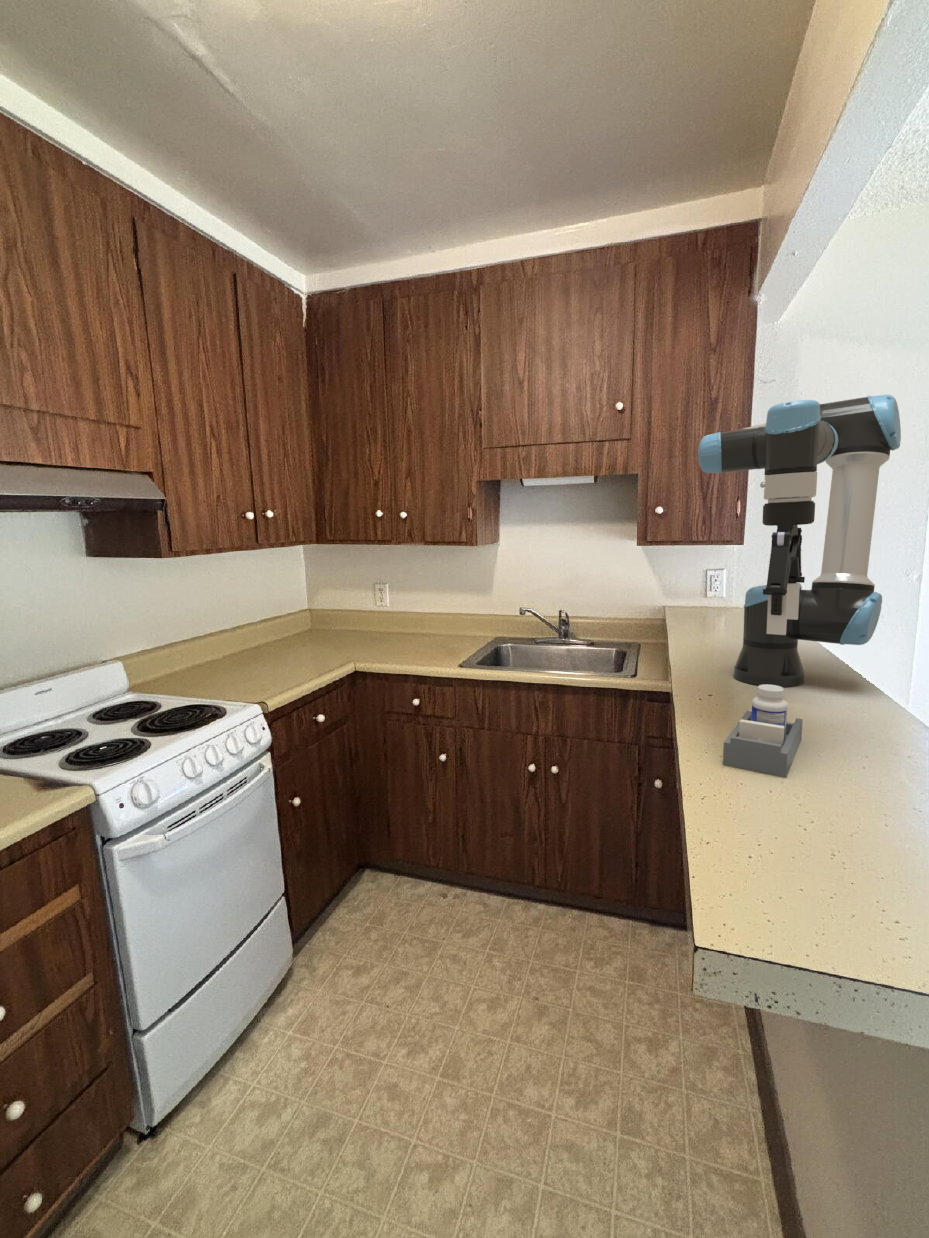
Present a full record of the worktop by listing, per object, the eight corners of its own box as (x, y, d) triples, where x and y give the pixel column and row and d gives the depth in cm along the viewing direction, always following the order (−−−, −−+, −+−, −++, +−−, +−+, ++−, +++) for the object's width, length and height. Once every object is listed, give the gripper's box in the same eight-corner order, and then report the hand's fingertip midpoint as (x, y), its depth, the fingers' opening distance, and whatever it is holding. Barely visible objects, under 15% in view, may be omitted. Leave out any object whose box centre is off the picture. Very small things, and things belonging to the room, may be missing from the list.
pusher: (739, 747, 95) (741, 719, 94) (782, 755, 91) (784, 726, 91) (733, 757, 91) (734, 727, 91) (778, 766, 88) (779, 735, 87)
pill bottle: (754, 733, 102) (756, 681, 100) (788, 739, 98) (791, 685, 97) (746, 742, 98) (749, 688, 96) (781, 749, 94) (784, 693, 93)
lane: (746, 730, 106) (747, 705, 105) (801, 739, 100) (803, 713, 99) (722, 764, 91) (723, 736, 91) (786, 777, 86) (787, 747, 85)
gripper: (776, 500, 105) (771, 612, 109) (748, 503, 86) (743, 639, 90) (823, 498, 101) (816, 614, 105) (805, 500, 81) (797, 643, 85)
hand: (783, 626), depth 97 cm, fingers open, 13 cm apart
